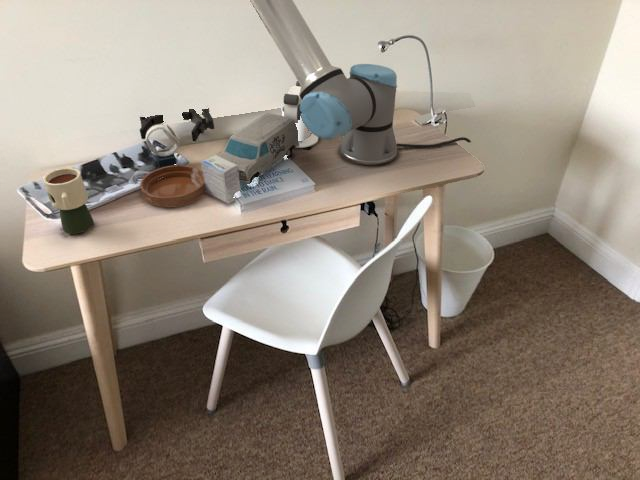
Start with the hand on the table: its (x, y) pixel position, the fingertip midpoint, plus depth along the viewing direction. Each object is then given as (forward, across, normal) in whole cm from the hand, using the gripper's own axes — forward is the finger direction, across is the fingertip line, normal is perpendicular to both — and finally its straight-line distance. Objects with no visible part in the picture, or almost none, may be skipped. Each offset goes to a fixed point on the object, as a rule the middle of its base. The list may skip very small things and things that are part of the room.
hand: (167, 135), depth 135 cm
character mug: (+33, +10, -7) cm, 35 cm away
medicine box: (+17, -18, -7) cm, 26 cm away
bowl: (+16, -6, -6) cm, 19 cm away
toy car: (+2, -24, -7) cm, 25 cm away
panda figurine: (-14, -32, -7) cm, 36 cm away
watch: (+4, 0, -7) cm, 8 cm away
